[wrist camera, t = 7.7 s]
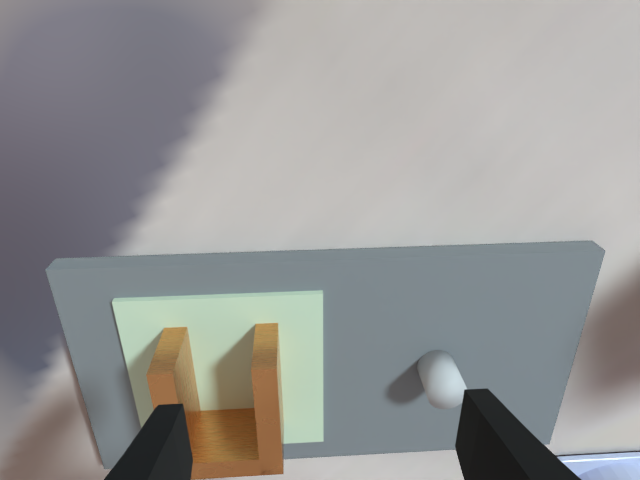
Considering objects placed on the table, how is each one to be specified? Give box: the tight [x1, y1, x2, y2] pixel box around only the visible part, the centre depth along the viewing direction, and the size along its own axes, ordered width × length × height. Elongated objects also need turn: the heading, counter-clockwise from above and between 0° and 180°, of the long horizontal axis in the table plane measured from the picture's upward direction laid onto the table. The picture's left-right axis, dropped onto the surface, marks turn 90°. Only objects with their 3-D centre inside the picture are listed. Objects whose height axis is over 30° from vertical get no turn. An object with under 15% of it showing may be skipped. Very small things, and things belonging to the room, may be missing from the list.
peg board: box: [45, 241, 605, 469], centre depth 22 cm, size 12×24×3 cm, turn 90°
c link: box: [146, 323, 284, 479], centre depth 21 cm, size 6×5×3 cm
